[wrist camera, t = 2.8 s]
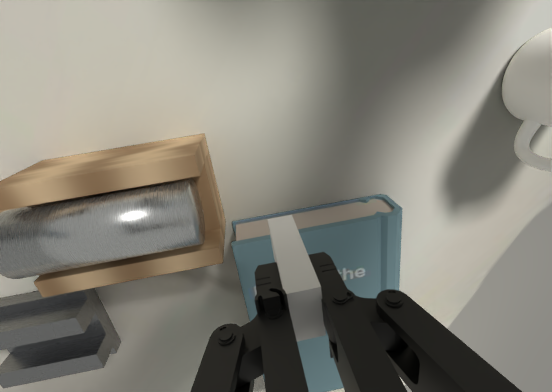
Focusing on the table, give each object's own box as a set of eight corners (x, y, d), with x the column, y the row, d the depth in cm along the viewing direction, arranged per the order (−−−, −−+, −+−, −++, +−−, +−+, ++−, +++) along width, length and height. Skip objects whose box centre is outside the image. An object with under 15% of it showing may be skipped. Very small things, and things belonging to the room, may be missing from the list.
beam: (204, 133, 26) (194, 155, 20) (225, 221, 30) (222, 263, 24) (-31, 172, 25) (-120, 208, 19) (21, 258, 29) (-39, 313, 23)
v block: (32, 359, 34) (8, 394, 30) (-10, 300, 30) (-43, 331, 27) (120, 341, 35) (107, 373, 31) (90, 281, 31) (70, 309, 27)
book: (232, 219, 31) (231, 246, 26) (382, 191, 32) (407, 212, 27) (266, 365, 40) (270, 404, 36) (381, 341, 41) (399, 375, 36)
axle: (193, 170, 24) (182, 190, 19) (207, 226, 26) (200, 257, 21) (24, 199, 23) (-30, 228, 18) (51, 254, 25) (8, 293, 20)
